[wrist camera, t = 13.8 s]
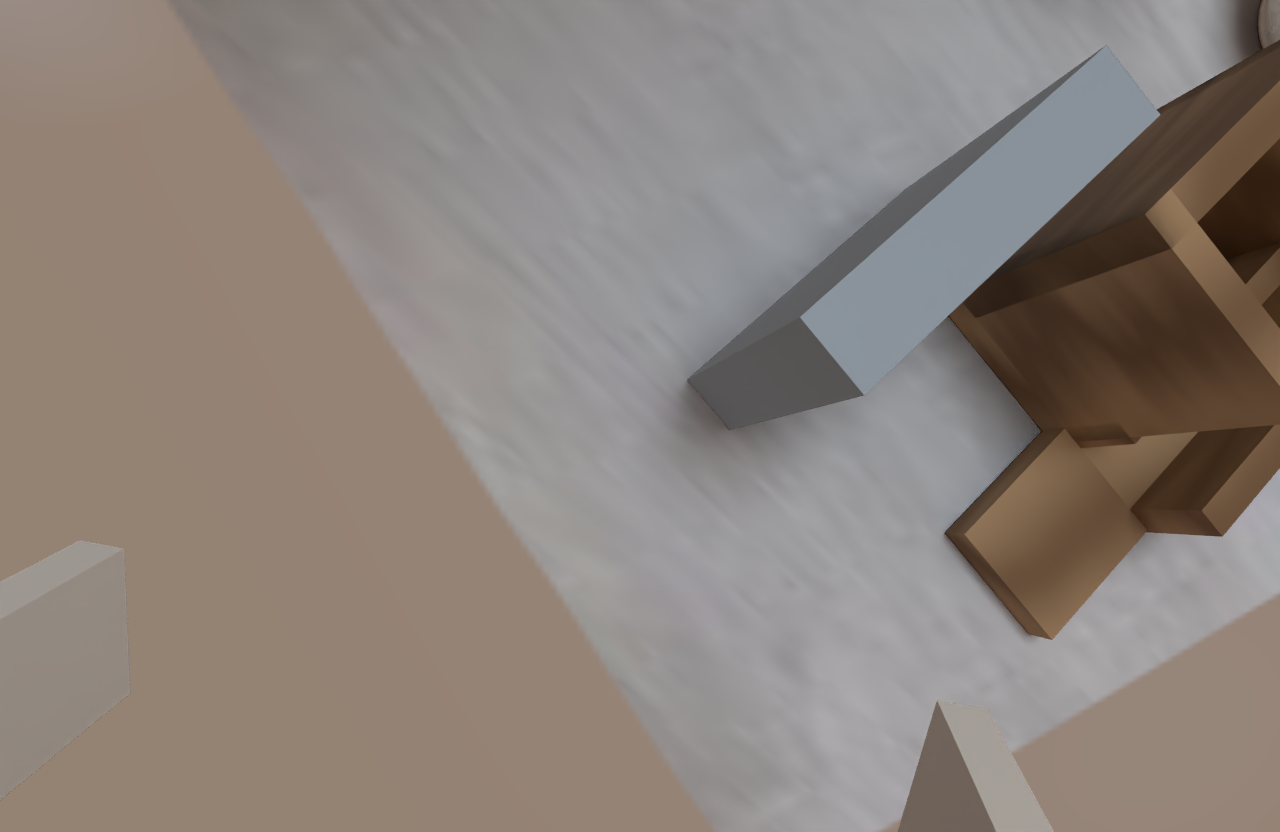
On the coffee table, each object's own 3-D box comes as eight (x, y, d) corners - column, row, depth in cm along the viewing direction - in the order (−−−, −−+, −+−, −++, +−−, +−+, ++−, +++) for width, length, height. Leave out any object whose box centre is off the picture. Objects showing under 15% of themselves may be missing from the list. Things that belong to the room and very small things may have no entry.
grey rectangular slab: (686, 379, 28) (799, 317, 18) (904, 189, 30) (1106, 45, 20) (729, 429, 28) (864, 395, 18) (942, 236, 30) (1160, 114, 21)
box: (833, 398, 29) (1005, 352, 19) (1118, 131, 33) (1376, -15, 23) (1030, 635, 29) (1288, 702, 20) (1286, 345, 33) (1601, 287, 24)
